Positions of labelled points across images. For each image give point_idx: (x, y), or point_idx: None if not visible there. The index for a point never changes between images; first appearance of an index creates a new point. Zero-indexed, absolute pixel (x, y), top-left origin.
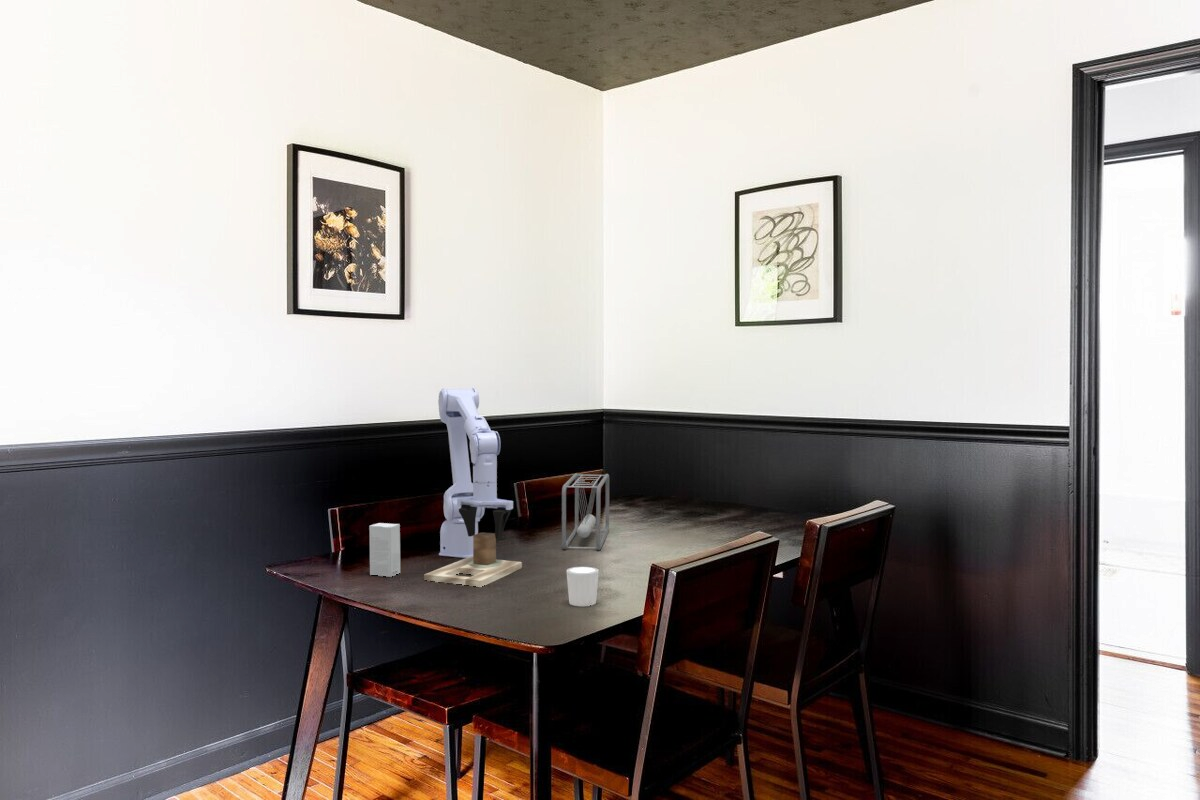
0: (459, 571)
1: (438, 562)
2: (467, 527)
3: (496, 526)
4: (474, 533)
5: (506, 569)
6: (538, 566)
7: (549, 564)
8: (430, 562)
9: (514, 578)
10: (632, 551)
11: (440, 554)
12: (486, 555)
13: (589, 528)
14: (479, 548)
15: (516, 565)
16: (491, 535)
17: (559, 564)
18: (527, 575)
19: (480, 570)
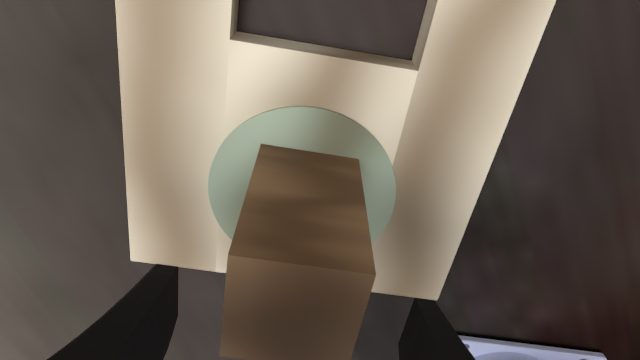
0: (415, 61)
1: (585, 258)
2: (456, 352)
3: (107, 336)
4: (400, 353)
5: (121, 100)
6: (89, 282)
7: (65, 318)
8: (627, 251)
9: (54, 33)
10: None
11: (597, 355)
12: (262, 174)
13: None
14: (314, 203)
15: (129, 206)
16: (224, 304)
17: (25, 325)
18: (30, 116)
19: (266, 44)
